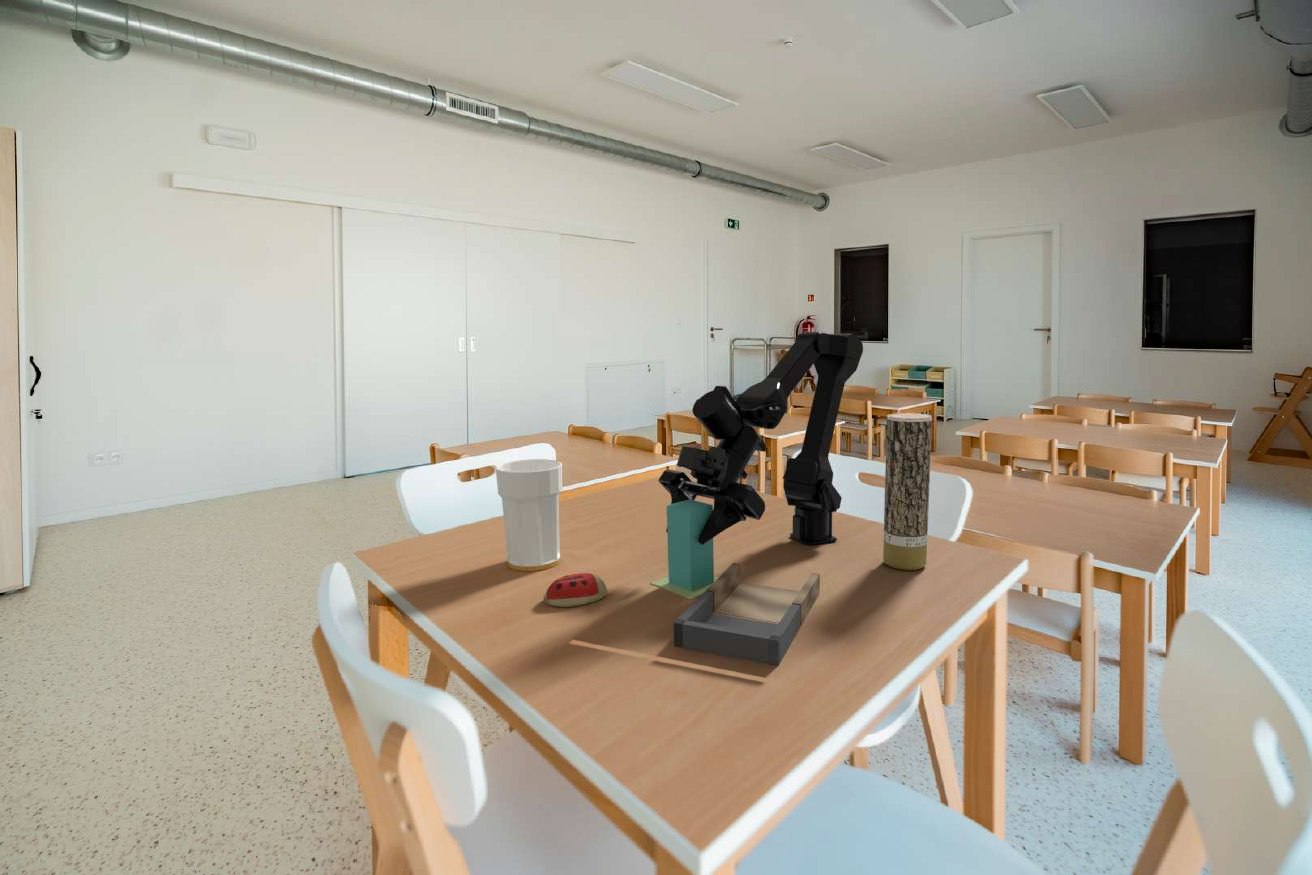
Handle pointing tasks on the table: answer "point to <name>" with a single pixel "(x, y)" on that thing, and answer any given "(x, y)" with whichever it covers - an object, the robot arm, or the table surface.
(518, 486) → the cup
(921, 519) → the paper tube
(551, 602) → the ladybug figurine
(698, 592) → the pad
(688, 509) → the teal block
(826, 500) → the robot arm
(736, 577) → the open channel
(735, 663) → the table surface
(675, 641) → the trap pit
